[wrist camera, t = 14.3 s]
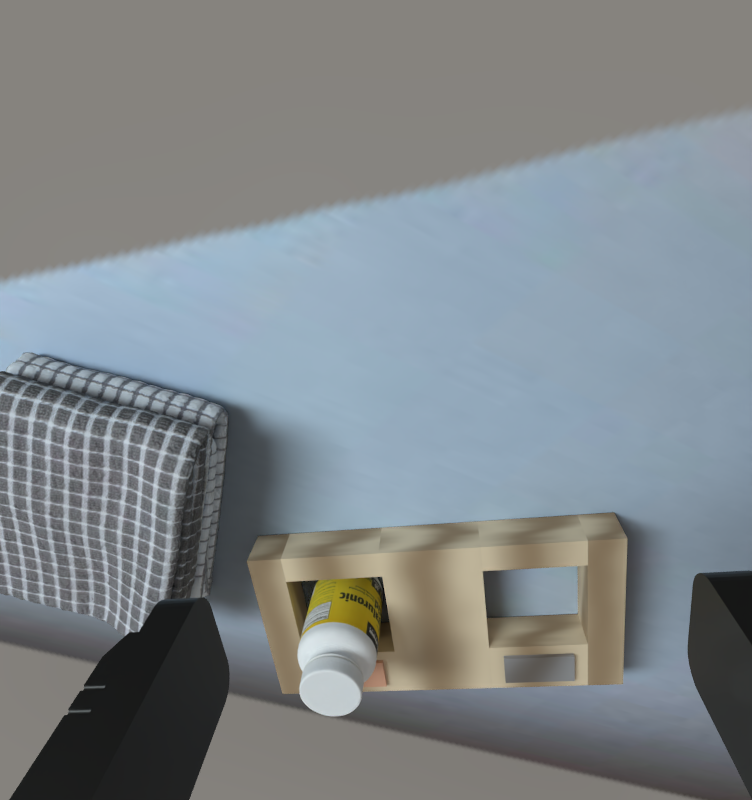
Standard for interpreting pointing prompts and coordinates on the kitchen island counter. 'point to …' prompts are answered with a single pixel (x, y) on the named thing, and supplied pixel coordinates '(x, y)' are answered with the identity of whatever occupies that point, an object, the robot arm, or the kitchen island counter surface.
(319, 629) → the supplement bottle
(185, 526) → the towel
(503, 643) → the socket holder
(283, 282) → the kitchen island counter surface
